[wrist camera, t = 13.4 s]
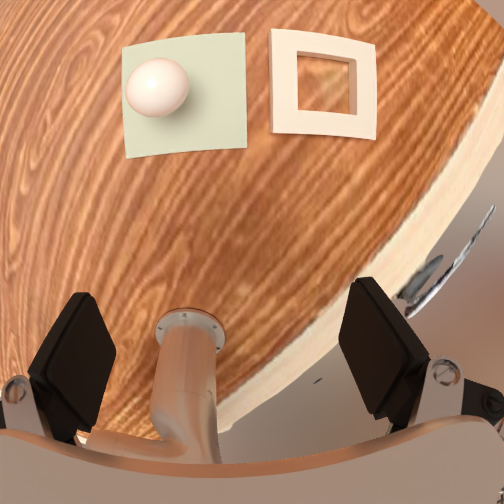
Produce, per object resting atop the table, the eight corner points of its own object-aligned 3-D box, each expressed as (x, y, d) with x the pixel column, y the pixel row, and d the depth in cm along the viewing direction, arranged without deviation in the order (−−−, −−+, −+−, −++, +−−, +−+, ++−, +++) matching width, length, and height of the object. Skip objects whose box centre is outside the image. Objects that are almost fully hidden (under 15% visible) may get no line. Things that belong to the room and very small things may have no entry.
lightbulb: (145, 118, 29) (112, 118, 20) (151, 72, 27) (120, 54, 17) (194, 119, 30) (179, 117, 20) (200, 72, 27) (188, 50, 18)
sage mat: (246, 147, 33) (247, 147, 33) (127, 158, 32) (126, 159, 31) (244, 33, 26) (245, 32, 25) (123, 48, 25) (122, 47, 24)
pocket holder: (367, 138, 33) (375, 139, 31) (270, 132, 32) (273, 133, 30) (366, 48, 27) (374, 45, 25) (268, 34, 26) (271, 28, 24)
